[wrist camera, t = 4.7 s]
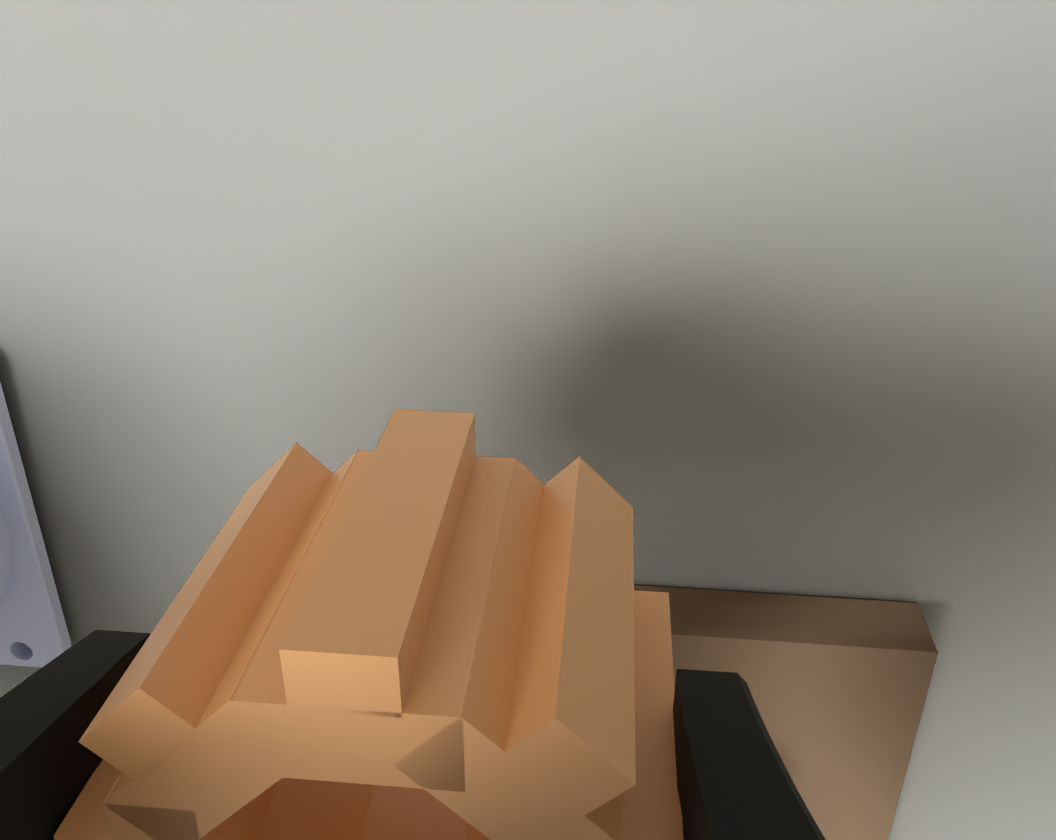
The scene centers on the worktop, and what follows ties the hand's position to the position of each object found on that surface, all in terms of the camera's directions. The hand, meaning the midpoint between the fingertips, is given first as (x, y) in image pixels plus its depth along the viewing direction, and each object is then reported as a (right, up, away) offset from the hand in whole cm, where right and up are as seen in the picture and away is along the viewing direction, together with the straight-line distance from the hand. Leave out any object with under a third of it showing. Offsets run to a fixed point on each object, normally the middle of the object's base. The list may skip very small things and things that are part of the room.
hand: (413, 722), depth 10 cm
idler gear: (0, +1, +2) cm, 2 cm away
